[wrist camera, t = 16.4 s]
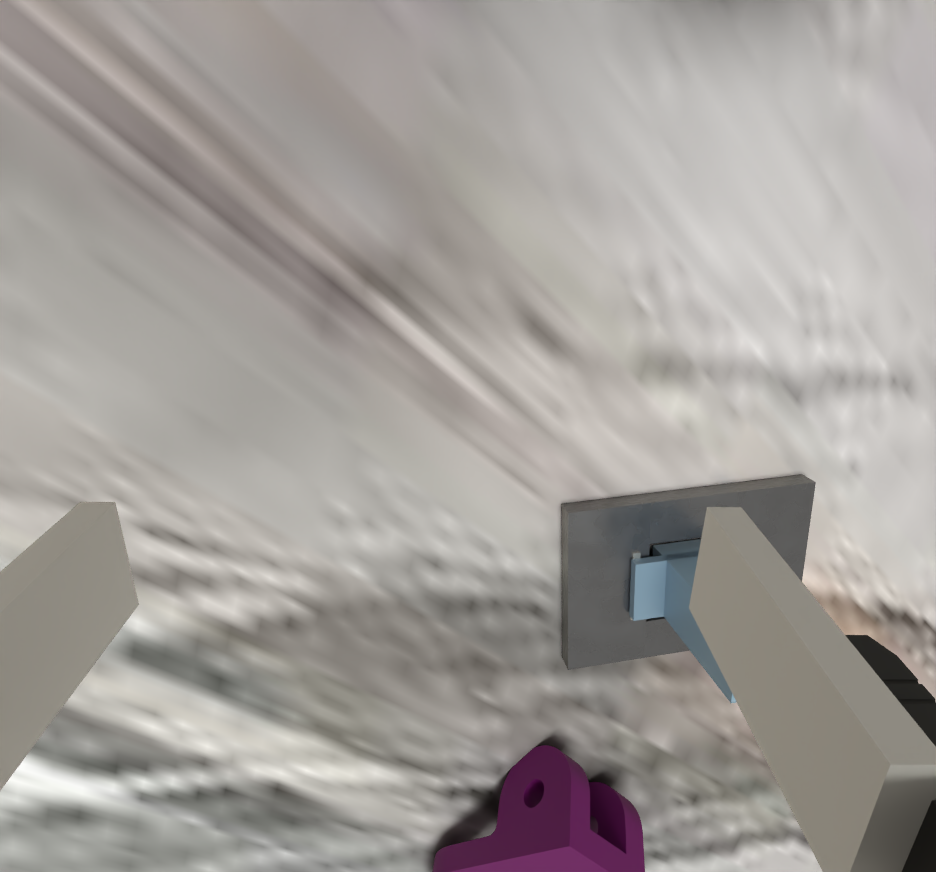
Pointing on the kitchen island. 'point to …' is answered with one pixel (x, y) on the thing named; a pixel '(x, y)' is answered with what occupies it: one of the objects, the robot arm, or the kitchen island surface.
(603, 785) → the mounting bracket
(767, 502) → the plate
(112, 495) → the kitchen island surface
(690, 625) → the block
